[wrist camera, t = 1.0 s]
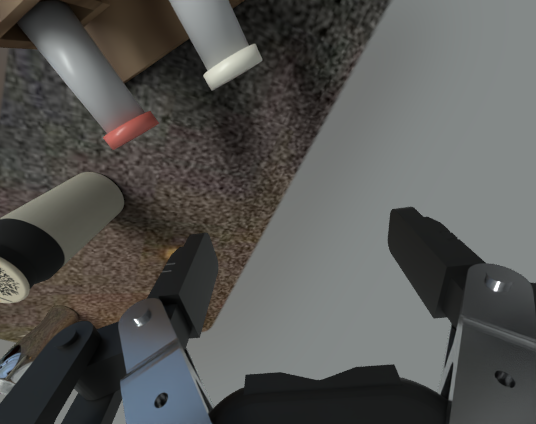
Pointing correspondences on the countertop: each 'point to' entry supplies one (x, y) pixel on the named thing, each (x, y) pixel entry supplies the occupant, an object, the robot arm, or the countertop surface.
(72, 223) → the travel mug
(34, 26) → the red button
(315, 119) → the countertop surface
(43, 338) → the beer glass
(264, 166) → the countertop surface
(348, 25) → the countertop surface
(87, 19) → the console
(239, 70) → the ivory button
